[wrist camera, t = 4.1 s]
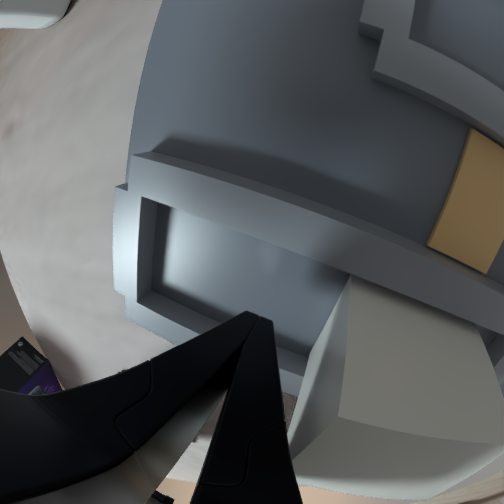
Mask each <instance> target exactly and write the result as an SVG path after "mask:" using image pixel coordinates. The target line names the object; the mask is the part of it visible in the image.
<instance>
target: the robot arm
mask: <svg viewBox="0 0 504 504" xmlns="http://www.w3.org/2000/svg"><path fill="white" fill-rule="evenodd" d="M227 390H228V391H227ZM226 392H227V394H226V397H225V400H224V403H223V406H222V409H221V413H220V416H219V419H218V422H217V425H216V428H215V431H214V434H213V437H212V440H211V443H210V446H209V449H208V452H207V455H206V458H205V461H204V464H203V467H202V469H201V472H200V475H199V478H198V481H197V484H196V487H195V490H194V493H193V496H192V498H191V501H190V504H303V502H302V498H301V495H300V491H299V488H298V484H297V480H296V476H295V473H294V468H293V464H292V460H291V455H290V450H289V443H288V437H287V429H286V422H285V421H284V420H285V413H284V405H283V396H282V388H281V380H280V371H279V363H278V355H277V347H276V339H275V331H274V323H273V321H272V320H270V319H268V318H265V317H263V316H259V315H257V314H255V313H252V312H250V311H244V312H242V313H240V314H238V315H236V316H234V317H232V318H231V319H229V320H227V321H225V322H223V323H221V324H219V325H217V326H215V327H214V328H212V329H210V330H208V331H206V332H204V333H202V334H200V335H198V336H196V337H194V338H192V339H190V340H188V341H186V342H184V343H182V344H180V345H178V346H176V347H174V348H172V349H170V350H168V351H166V352H164V353H162V354H160V355H158V356H156V357H154V358H152V359H150V361H149V360H147V361H145V362H143V363H141V364H139V365H137V366H134V367H132V368H130V369H127V370H125V371H123V372H118V373H117V374H115V375H112V376H109V377H106V378H103V379H100V380H97V381H94V382H91V383H87V384H84V385H81V386H77V387H74V388H70V389H66V390H63V391H59V392H55V393H51V394H44V395H26V394H21V393H16V392H11V391H6V390H2V389H0V504H173V502H174V499H173V498H170V497H169V496H165V495H163V494H161V493H159V492H158V491H156V488H157V487H158V486H159V485H160V483H161V482H162V481H163V480H164V478H165V477H166V476H167V474H168V473H169V472H170V470H171V469H172V468H173V467H174V465H175V464H176V463H177V461H178V460H179V458H180V457H181V456H182V454H183V453H184V452H185V450H186V449H187V448H188V446H189V445H190V443H191V442H192V441H193V439H194V438H195V436H196V435H197V434H198V432H199V431H200V429H201V428H202V427H203V425H204V424H205V422H206V421H207V419H208V418H209V417H210V415H211V414H212V412H213V411H214V409H215V408H216V406H217V405H218V403H219V402H220V401H221V399H222V398H223V396H224V395H225V393H226ZM146 501H147V502H146Z"/></svg>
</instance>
